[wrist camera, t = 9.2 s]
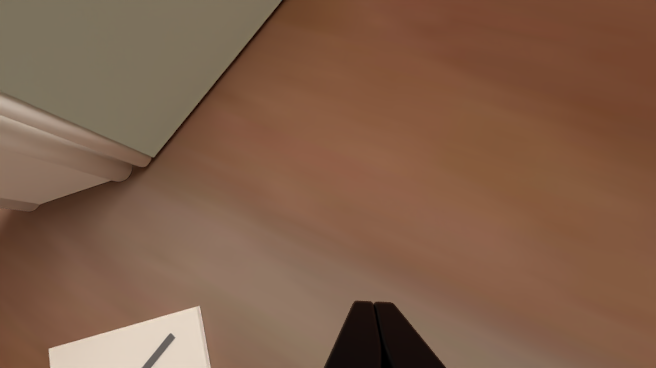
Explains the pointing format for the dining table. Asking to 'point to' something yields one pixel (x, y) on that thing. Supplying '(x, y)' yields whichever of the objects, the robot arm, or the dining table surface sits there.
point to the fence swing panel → (117, 66)
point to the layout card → (141, 345)
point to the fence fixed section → (48, 166)
